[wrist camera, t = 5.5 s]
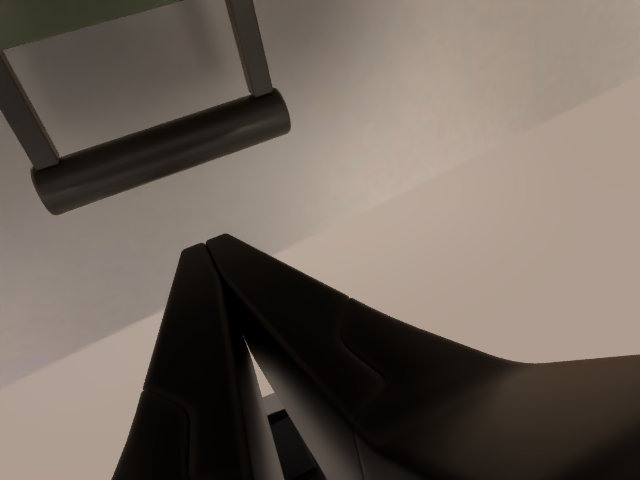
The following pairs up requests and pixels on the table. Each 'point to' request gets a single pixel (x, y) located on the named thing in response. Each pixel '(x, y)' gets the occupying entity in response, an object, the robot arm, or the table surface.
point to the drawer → (143, 146)
